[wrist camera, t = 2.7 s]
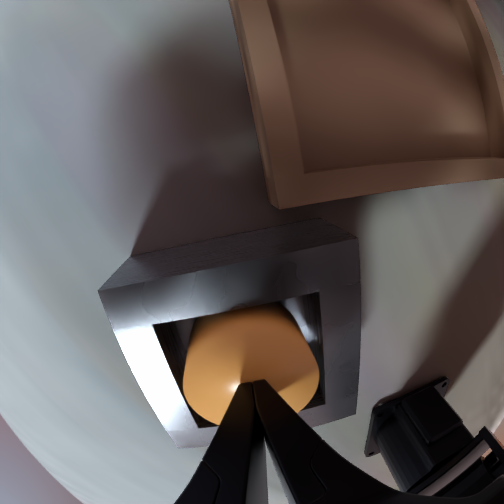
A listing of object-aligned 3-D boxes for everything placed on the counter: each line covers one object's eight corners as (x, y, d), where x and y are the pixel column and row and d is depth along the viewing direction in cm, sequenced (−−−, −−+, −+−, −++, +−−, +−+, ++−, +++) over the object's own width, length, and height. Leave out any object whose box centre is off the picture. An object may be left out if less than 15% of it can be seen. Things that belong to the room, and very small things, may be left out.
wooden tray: (493, 172, 12) (518, 176, 10) (268, 202, 11) (279, 209, 9) (436, -26, 8) (453, -36, 6) (214, -58, 7) (214, -82, 5)
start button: (305, 373, 11) (321, 413, 9) (205, 393, 11) (205, 436, 9) (294, 284, 10) (314, 317, 8) (174, 308, 10) (163, 347, 8)
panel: (331, 368, 14) (355, 413, 10) (183, 397, 13) (178, 448, 10) (320, 217, 11) (357, 238, 8) (129, 256, 11) (97, 290, 8)
